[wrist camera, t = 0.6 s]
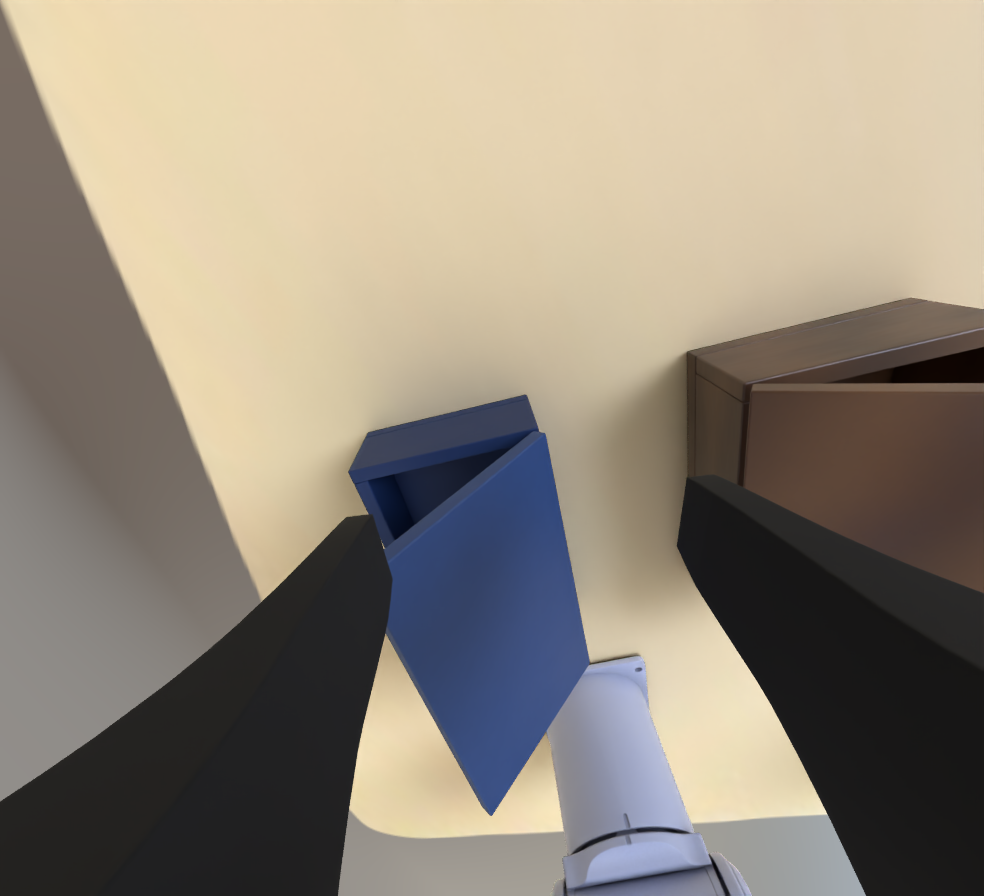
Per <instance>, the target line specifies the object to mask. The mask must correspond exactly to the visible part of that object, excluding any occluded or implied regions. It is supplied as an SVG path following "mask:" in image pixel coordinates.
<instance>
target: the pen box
mask: <svg viewBox="0 0 984 896" xmlns="http://www.w3.org/2000/svg"><path fill="white" fill-rule="evenodd" d="M871 383H984V309H978V308H972V307H965V306H959V305H952V304H945V303H939V302H932V301H927V300H921V299H915V298H908V299H904V300H900V301H895V302H891V303H887V304H883V305H879V306H875V307H871V308H866V309H862V310H858V311H854V312H850V313H846V314H841V315H837V316H833V317H829V318H825V319H821V320H817V321H812V322H808V323H804V324H800V325H796V326H792V327H787V328H783V329H779V330H775V331H771V332H767V333H763V334H758V335H754V336H750V337H746V338H742V339H738V340H733V341H729V342H725V343H721V344H717V345H713V346H709V347H704V348H700V349H696V350H692V351H688V352H687V399H688V477H694V476H702V475H711V474H714V475H717V476H719V477H722V478H724V479H726V480H729V481H731V482H733V483H735V484H737V485H739V486H741V487H743V483H744V470H745V457H746V443H747V430H748V417H749V404H750V392H751V387H752V385H753V384H871Z"/></svg>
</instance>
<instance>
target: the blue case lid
mask: <svg viewBox="0 0 984 896" xmlns="http://www.w3.org/2000/svg"><path fill="white" fill-rule="evenodd" d="M384 552H385V555H386V559H387V562H388V565H389V568H390V572H391V575H392V578H393V582H392V592H391V602H390V610H389V618H388V624H387V628H386V632H385V633H386V635H387V636H388V638H389V640H390V642H391V644H392V645H393V647H394V649H395V651H396V653H397V654H398V656H399V658H400V660H401V662H402V663H403V665H404V667H405V669H406V671H407V672H408V674H409V676H410V678H411V680H412V681H413V683H414V685H415V687H416V689H417V690H418V692H419V694H420V696H421V698H422V699H423V701H424V703H425V705H426V707H427V708H428V710H429V712H430V714H431V716H432V717H433V719H434V721H435V723H436V725H437V726H438V728H439V730H440V732H441V734H442V735H443V737H444V739H445V741H446V743H447V744H448V746H449V748H450V750H451V752H452V753H453V755H454V757H455V759H456V761H457V762H458V764H459V766H460V768H461V769H462V771H463V773H464V775H465V777H466V778H467V780H468V782H469V784H470V786H471V787H472V789H473V791H474V793H475V795H476V796H477V798H478V800H479V802H480V804H481V805H482V807H483V808H484V809H485V810H486V812H487V813H488V814H489V815H490V816H492V815H493V813H494V812H495V810H496V809H497V807H498V806H499V804H500V802H501V801H502V799H503V798H504V796H505V795H506V793H507V792H508V790H509V788H510V787H511V785H512V784H513V782H514V781H515V779H516V778H517V776H518V774H519V773H520V771H521V770H522V768H523V767H524V765H525V764H526V762H527V760H528V759H529V757H530V756H531V754H532V753H533V751H534V750H535V748H536V746H537V745H538V743H539V742H540V740H541V739H542V737H543V735H544V734H545V732H546V731H547V729H548V728H549V726H550V725H551V723H552V721H553V720H554V718H555V717H556V715H557V714H558V712H559V711H560V709H561V707H562V706H563V704H564V703H565V701H566V700H567V698H568V697H569V695H570V693H571V692H572V690H573V689H574V687H575V686H576V684H577V683H578V681H579V679H580V678H581V676H582V675H583V673H584V672H585V670H586V669H587V667H588V665H589V664H590V661H589V656H588V651H587V645H586V640H585V635H584V630H583V625H582V620H581V614H580V609H579V604H578V599H577V594H576V589H575V584H574V578H573V573H572V568H571V563H570V558H569V553H568V547H567V542H566V537H565V532H564V527H563V522H562V516H561V511H560V506H559V501H558V496H557V491H556V485H555V480H554V475H553V470H552V465H551V460H550V454H549V449H548V444H547V439H546V434H545V433H541V432H536V431H533V432H532V433H530V434H529V435H528V436H527V437H525V438H524V439H523V440H522V441H520V442H519V443H518V444H516V445H515V446H514V447H513V448H511V449H510V450H509V451H508V452H506V453H505V454H504V455H503V456H501V457H500V458H499V459H498V460H496V461H495V462H494V463H492V464H491V465H490V466H489V467H487V468H486V469H485V470H484V471H482V472H481V473H480V474H479V475H477V476H476V477H475V478H474V479H472V480H471V481H470V482H468V483H467V484H466V485H465V486H463V487H462V488H461V489H460V490H458V491H457V492H456V493H455V494H453V495H452V496H451V497H449V498H448V499H447V500H446V501H444V502H443V503H442V504H441V505H439V506H438V507H437V508H436V509H434V510H433V511H432V512H431V513H429V514H428V515H427V516H425V517H424V518H423V519H422V520H420V521H419V522H418V523H417V524H415V525H414V526H413V527H412V528H410V529H409V530H408V531H407V532H405V533H404V534H403V535H401V536H400V537H399V538H398V539H396V540H395V541H394V542H393V543H391V544H390V545H389V546H388V547H386V548H385V549H384Z"/></svg>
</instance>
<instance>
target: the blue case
mask: <svg viewBox="0 0 984 896" xmlns="http://www.w3.org/2000/svg"><path fill="white" fill-rule="evenodd" d="M533 431H536V432H539V429H538V426H537V423H536V420H535V417H534V414H533V411H532V409H531V406H530V403H529V400H528V397H527V395H522V396H518V397H514V398H510V399H506V400H501V401H497V402H493V403H489V404H485V405H481V406H476V407H472V408H468V409H464V410H460V411H456V412H451V413H447V414H443V415H439V416H435V417H431V418H426V419H422V420H418V421H414V422H410V423H406V424H401V425H397V426H393V427H389V428H385V429H381V430H376V431H372V432H368V434H367V436H366V438H365V440H364V441H363V443H362V445H361V447H360V449H359V451H358V453H357V455H356V457H355V459H354V461H353V463H352V465H351V467H350V469H349V471H348V473H349V475H350V477H351V479H352V481H353V483H355V487H356V489H357V491H358V493H359V495H360V497H361V499H362V501H363V503H364V505H365V507H366V510H367V512H368V514H369V515H370V514H373V517H374V520H375V523H376V526H377V530H378V533H379V536H380V539H381V541H382V543H383V545H384V547H385V548H386V547H388V546H389V545H390V544H391V543H393V542H394V541H395V540H396V539H398V538H399V537H400V536H401V535H403V534H404V533H405V532H407V531H408V530H409V529H410V528H412V527H413V526H414V525H415V524H417V523H418V522H419V521H420V520H422V519H423V518H424V517H425V516H427V515H428V514H429V513H431V512H432V511H433V510H434V509H436V508H437V507H438V506H439V505H441V504H442V503H443V502H444V501H446V500H447V499H448V498H449V497H451V496H452V495H453V494H455V493H456V492H457V491H458V490H460V489H461V488H462V487H463V486H465V485H466V484H467V483H468V482H470V481H471V480H472V479H474V478H475V477H476V476H477V475H479V474H480V473H481V472H482V471H484V470H485V469H486V468H487V467H489V466H490V465H491V464H492V463H494V462H495V461H496V460H498V459H499V458H500V457H501V456H503V455H504V454H505V453H506V452H508V451H509V450H510V449H511V448H513V447H514V446H515V445H516V444H518V443H519V442H520V441H522V440H523V439H524V438H525V437H527V436H528V435H529V434H530V433H532V432H533Z"/></svg>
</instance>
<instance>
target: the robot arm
mask: <svg viewBox="0 0 984 896" xmlns="http://www.w3.org/2000/svg"><path fill="white" fill-rule="evenodd" d="M677 547H678V550H679V552H680V554H681V556H682V558H683V561H684V563H685V565H686V567H687V569H688V571H689V573H690V575H691V577H692V579H693V581H694V583H695V585H696V587H697V589H698V590H699V592H700V594H701V595H702V597H703V598H704V600H705V601H706V603H707V605H708V606H709V608H710V609H711V611H712V612H713V614H714V616H715V617H716V619H717V620H718V622H719V623H720V625H721V626H722V628H723V630H724V631H725V633H726V634H727V636H728V637H729V639H730V640H731V642H732V643H733V645H734V646H735V648H736V650H737V651H738V653H739V654H740V656H741V657H742V659H743V660H744V662H745V663H746V665H747V666H748V668H749V670H750V671H751V673H752V674H753V676H754V677H755V679H756V680H757V682H758V684H759V685H760V687H761V689H762V690H763V692H764V694H765V695H766V697H767V699H768V700H769V702H770V704H771V705H772V707H773V709H774V711H775V713H776V715H777V717H778V719H779V720H780V722H781V724H782V726H783V728H784V730H785V732H786V734H787V736H788V737H789V739H790V741H791V743H792V745H793V747H794V749H795V751H796V753H797V754H798V756H799V758H800V760H801V762H802V764H803V766H804V768H805V770H806V772H807V774H808V776H809V778H810V780H811V782H812V784H813V786H814V788H815V790H816V792H817V794H818V796H819V798H820V800H821V802H822V804H823V806H824V808H825V810H826V812H827V814H828V816H829V818H830V820H831V822H832V824H833V826H834V828H835V831H836V833H837V835H838V837H839V839H840V841H841V843H842V845H843V847H844V850H845V852H846V854H847V856H848V858H849V860H850V862H851V864H852V867H853V869H854V871H855V873H856V875H857V877H858V879H859V882H860V884H861V885H862V888H863V890H864V892H865V894H866V896H984V593H982V592H980V591H977V590H974V589H972V588H969V587H966V586H964V585H961V584H958V583H956V582H953V581H951V580H948V579H945V578H943V577H940V576H938V575H935V574H932V573H930V572H927V571H925V570H922V569H919V568H917V567H914V566H912V565H909V564H907V563H905V562H902V561H900V560H897V559H895V558H892V557H890V556H888V555H885V554H883V553H881V552H879V551H876V550H874V549H872V548H870V547H867V546H865V545H863V544H860V543H858V542H856V541H854V540H851V539H849V538H847V537H845V536H842V535H840V534H838V533H836V532H834V531H832V530H830V529H827V528H825V527H823V526H821V525H819V524H817V523H815V522H813V521H811V520H808V519H806V518H804V517H802V516H800V515H798V514H796V513H794V512H792V511H790V510H788V509H786V508H784V507H782V506H780V505H778V504H776V503H774V502H772V501H770V500H768V499H766V498H764V497H762V496H760V495H758V494H756V493H754V492H752V491H750V490H748V489H746V488H743V487H741V486H739V485H737V484H735V483H733V482H731V481H729V480H726V479H724V478H722V477H719V476H717V475H714V474H711V475H702V476H694V477H687V479H686V486H685V493H684V500H683V507H682V514H681V521H680V528H679V535H678V542H677ZM392 582H393V578H392V575H391V572H390V568H389V565H388V562H387V559H386V555H385V552H384V549H383V546H382V542H381V539H380V536H379V533H378V530H377V526H376V523H375V520H374V517H373V514H370V515H361V516H352V517H346V518H345V519H344V520H343V521H342V522H341V523H340V524H339V525H338V526H337V527H336V528H335V529H334V530H333V531H332V532H331V533H330V534H329V535H328V536H327V537H326V538H325V539H324V540H323V541H322V542H321V543H320V544H319V545H318V546H317V547H316V548H315V550H314V551H313V552H312V553H311V554H310V555H309V556H308V557H307V558H306V559H305V560H304V561H303V562H302V563H301V564H300V565H299V566H298V567H297V568H296V569H295V570H294V571H293V572H292V573H291V574H290V575H289V576H288V577H287V578H286V579H285V580H284V581H283V582H282V583H281V584H280V585H279V586H278V587H277V588H276V589H275V590H274V591H273V592H272V593H271V594H270V595H269V596H267V597H266V598H265V599H264V600H263V601H262V602H261V603H260V604H259V605H258V606H257V607H256V608H255V609H254V610H253V611H251V612H250V613H249V614H248V615H247V616H246V617H245V618H244V619H243V620H242V621H241V622H240V623H239V624H238V625H237V626H236V627H234V628H233V629H232V630H231V631H230V632H229V633H228V634H226V635H225V636H224V637H223V638H222V639H221V640H220V641H218V642H217V643H216V644H215V645H214V646H213V647H212V648H211V649H209V650H208V651H207V652H205V653H204V654H203V655H202V656H201V657H199V658H198V659H197V660H196V661H194V662H193V663H192V664H191V665H190V666H188V667H187V668H186V669H185V670H183V671H182V672H181V673H180V674H178V675H177V676H176V677H175V678H173V679H172V680H171V681H170V682H168V683H167V684H166V685H165V686H163V687H162V688H161V689H159V690H158V691H156V692H155V693H154V694H152V695H151V696H150V697H149V698H147V699H146V700H144V701H143V702H142V703H140V704H139V705H138V706H136V707H135V708H134V709H132V710H131V711H130V712H128V713H127V714H126V715H124V716H123V717H121V718H120V719H119V720H117V721H116V722H115V723H113V724H112V725H111V726H109V727H108V728H107V729H105V730H104V731H103V732H101V733H100V734H99V735H97V736H96V737H95V738H93V739H92V740H90V741H89V742H87V743H86V744H85V745H83V746H82V747H80V748H79V749H77V750H76V751H74V752H73V753H72V754H70V755H69V756H67V757H66V758H64V759H63V760H61V761H60V762H59V763H57V764H56V765H54V766H53V767H51V768H50V769H48V770H47V771H45V772H44V773H43V774H41V775H40V776H38V777H37V778H35V779H34V780H32V781H31V782H29V783H27V784H26V785H24V786H23V787H22V788H20V789H18V790H17V791H15V792H14V793H12V794H11V795H10V796H8V797H6V798H5V799H3V800H2V801H1V802H0V896H338V889H339V880H340V872H341V864H342V857H343V850H344V842H345V835H346V827H347V819H348V812H349V805H350V799H351V792H352V786H353V779H354V772H355V766H356V759H357V753H358V748H359V743H360V738H361V733H362V728H363V723H364V719H365V715H366V711H367V707H368V703H369V699H370V695H371V691H372V687H373V682H374V678H375V674H376V670H377V666H378V662H379V658H380V654H381V649H382V645H383V641H384V637H385V632H386V628H387V624H388V618H389V610H390V602H391V592H392ZM546 733H547V736H548V739H549V742H550V746H551V752H552V759H553V765H554V771H555V778H556V784H557V791H558V797H559V803H560V810H561V816H562V822H563V829H564V835H565V841H566V847H567V854H568V856H564V857H563V858H562V861H563V868H564V874H565V878H564V879H558V880H556V881H555V883H554V887H553V890H552V893H551V895H550V896H752V894H751V892H750V890H749V888H748V886H747V884H746V882H745V881H744V879H743V877H742V875H741V874H740V872H739V871H738V869H737V868H736V867H735V866H734V865H733V864H732V863H730V862H729V861H728V860H726V859H725V858H724V856H723V855H722V854H721V853H719V852H714V853H709V854H708V852H707V849H706V847H705V844H704V842H703V839H702V836H701V834H700V833H694V830H693V827H692V825H691V822H690V819H689V817H688V814H687V811H686V809H685V806H684V803H683V800H682V798H681V795H680V792H679V790H678V787H677V784H676V782H675V779H674V776H673V774H672V771H671V768H670V766H669V763H668V760H667V758H666V755H665V752H664V750H663V747H662V744H661V742H660V739H659V736H658V734H657V731H656V728H655V726H654V723H653V720H652V718H651V715H650V712H649V704H648V692H647V681H646V669H645V662H644V660H643V658H642V657H641V656H633V657H628V658H623V659H618V660H612V661H607V662H602V663H597V664H592V665H588V667H587V669H586V670H585V672H584V673H583V675H582V676H581V678H580V679H579V681H578V683H577V684H576V686H575V687H574V689H573V690H572V692H571V693H570V695H569V697H568V698H567V700H566V701H565V703H564V704H563V706H562V707H561V709H560V711H559V712H558V714H557V715H556V717H555V718H554V720H553V721H552V723H551V725H550V726H549V728H548V729H547V731H546Z"/></svg>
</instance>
